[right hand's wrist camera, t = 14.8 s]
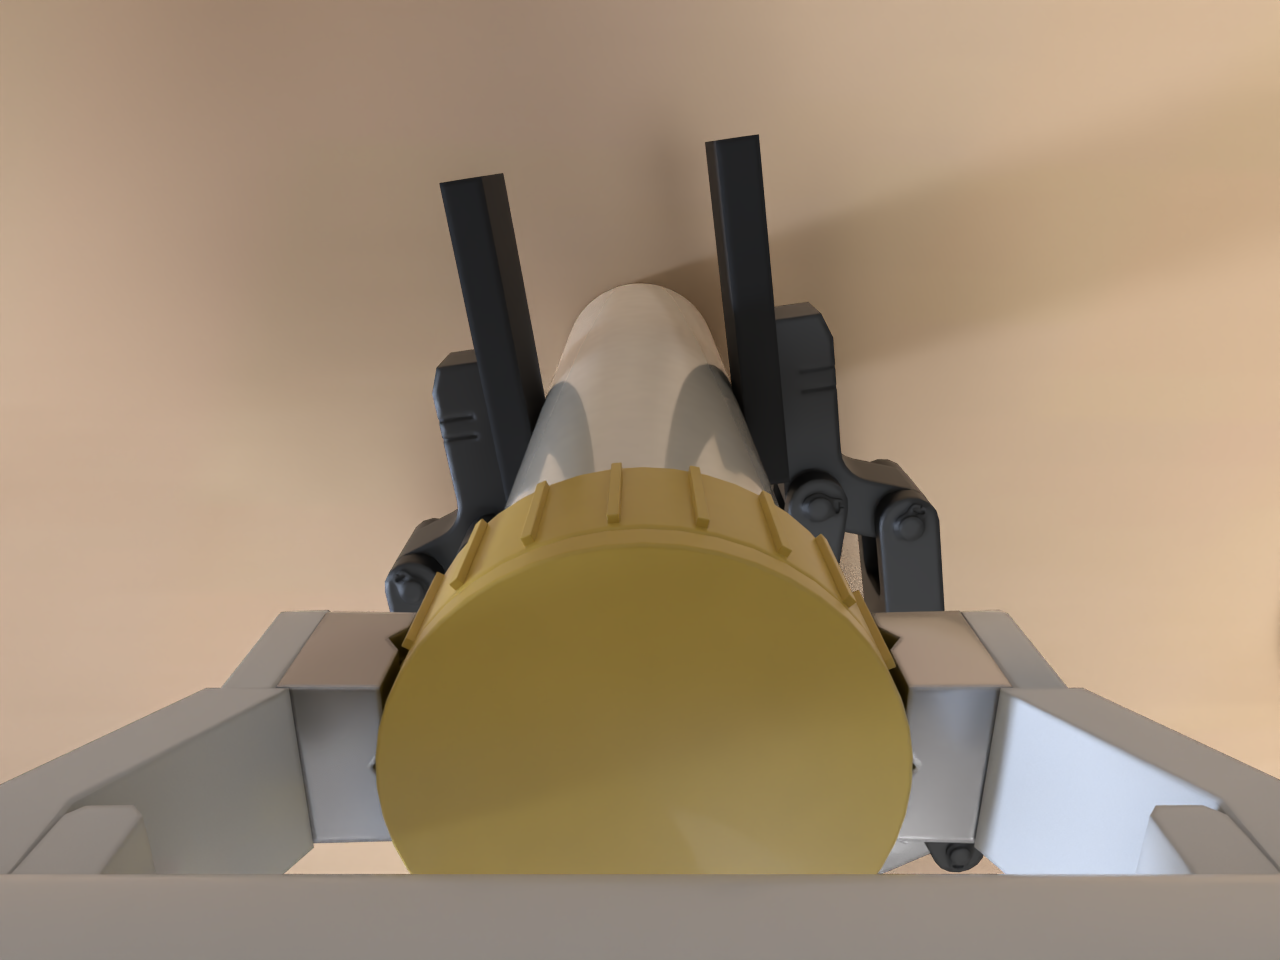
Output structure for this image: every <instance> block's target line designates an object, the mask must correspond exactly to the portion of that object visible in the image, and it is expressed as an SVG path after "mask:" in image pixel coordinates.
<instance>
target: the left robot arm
mask: <svg viewBox="0 0 1280 960" xmlns="http://www.w3.org/2000/svg"><path fill="white" fill-rule="evenodd" d="M705 146H706V155H707V164H708V174H709V183H710V192H711V201H712V210H713V219H714V228H715V237H716V246H717V256H718V265H719V274H720V283H721V292H722V301H723V310H724V319H725V328H726V338H727V347H728V356H729V365H730V374H731V383H732V388H733V390H734V393H735V396H736V398H737V401H738V403H739V406H740V408H741V411H742V413H743V416H744V418H745V421H746V423H747V426H748V428H749V431H750V434H751V436H752V439H753V441H754V444H755V446H756V449H757V451H758V454H759V456H760V459H761V461H762V464H763V467H764V469H765V472H766V474H767V477H768V479H769V482H770V484H771V487H772V489H773V492H774V494H775V497H776V499H777V502H778V505H779V507H780V508H781V509H782V510H784V511H785V512H787V513H788V514H789V515H791V516H792V517H793V518H794V519H795V520H797V521H798V522H799V523H800V524H801V525H802V526H804V527H805V528H806V529H807V530H808V531H809V532H810V533H811V534H812V535H813V536H814V537H815V538H816V537H817V536H818V535H820V534H822V535H823V536H824V537H825V538H826V539H827V541H828V543H829V545H830V547H831V549H832V552H833V554H834V556H835V558H836V560H837V562H838V564H839V563H840V557H841V551H842V545H843V539H844V533H845V532H848V533H854V534H858V540H859V551H860V562H861V572H862V583H863V594H864V601H865V603H866V605H867V607H868V609H869V611H870V613H887V612H929V611H944V594H943V577H942V560H941V543H940V526H939V518H938V515H937V511H936V510H935V508H934V507H933V506H932V505H931V504H930V502H929V501H928V500H927V499H926V497H925V496H924V495H923V493H922V492H921V491H920V490H919V489H918V487H917V486H916V485H915V484H914V482H913V481H912V480H911V479H910V478H909V476H908V475H907V474H906V473H905V472H904V471H903V470H902V469H901V467H900V466H899V465H898V464H897V463H895V462H892V461H890V460H883V459H877V460H874V461H872V462H867V461H862V460H857V459H853V458H850V457H847V456H844V455H843V454H841V447H840V432H839V417H838V403H837V389H836V373H835V358H834V344H833V337H832V335H831V333H830V331H829V329H828V327H827V325H826V323H825V321H824V319H823V317H822V315H821V313H820V312H819V311H818V310H816V309H815V308H814V307H813V306H812V305H811V304H810V303H809V302H804V303H797V304H790V305H783V306H776V307H774V298H773V287H772V276H771V265H770V254H769V243H768V232H767V221H766V209H765V198H764V187H763V176H762V165H761V154H760V143H759V134H758V135H751V136H743V137H737V138H730V139H723V140H717V141H710V142H705ZM440 188H441V193H442V198H443V203H444V207H445V212H446V217H447V222H448V226H449V231H450V236H451V241H452V245H453V250H454V255H455V260H456V264H457V269H458V274H459V279H460V283H461V288H462V293H463V298H464V302H465V307H466V312H467V317H468V321H469V326H470V331H471V336H472V340H473V345H474V349H473V350H466V351H459V352H452V353H450V354H449V355H448V356H447V357H446V358H445V359H444V360H443V362H442V363H441V364H440V365H439V366H438V367H437V368H436V374H435V380H434V386H433V392H432V394H433V399H434V403H435V407H436V412H437V416H438V419H439V425H440V429H441V433H442V438H443V439H444V446H445V451H446V455H447V459H448V464H449V468H450V472H451V477H452V481H453V485H454V490H455V494H456V498H457V505H458V509H456V510H455V511H454V512H452V513H450V514H448V515H446V516H444V517H442V518H440V519H436V518H432V519H429V520H425V521H423V522H422V523H421V524H419V525H418V526H417V527H416V528H415V530H414V532H413V534H412V535H411V537H410V538H409V540H408V542H407V543H406V545H405V547H404V548H403V550H402V552H401V554H400V555H399V557H398V559H397V560H396V562H395V564H394V565H393V567H392V569H391V571H390V572H389V574H388V577H387V579H386V581H385V593H386V597H387V601H388V605H389V609H390V612H411V613H417V612H418V610H419V608H420V606H421V604H422V602H423V600H424V597H425V595H426V593H427V591H428V589H429V587H430V585H431V583H432V581H433V579H434V577H435V575H436V573H437V572H439V573H441V574H443V575H445V573H446V571H447V570H448V568H449V567H450V565H451V564H452V562H453V561H454V559H455V558H456V556H457V555H458V553H459V552H460V551H461V550H462V549H463V548H464V546H465V545H466V544H467V543H468V540H469V538H470V536H471V534H472V531H473V529H474V527H475V524H476V523H478V522H479V521H480V520H481V519H483V520H484V521H485V522H486V523H488V522H490V521H491V520H492V519H493V518H494V517H495V516H497V515H498V514H499V513H500V512H502V511H504V508H505V506H506V503H507V500H508V498H509V495H510V492H511V490H512V487H513V484H514V482H515V479H516V476H517V474H518V471H519V468H520V466H521V463H522V460H523V458H524V455H525V452H526V450H527V447H528V444H529V442H530V439H531V436H532V434H533V431H534V428H535V426H536V423H537V420H538V418H539V415H540V412H541V410H542V407H543V404H544V401H545V395H544V390H543V384H542V379H541V374H540V368H539V363H538V358H537V352H536V347H535V341H534V336H533V331H532V325H531V320H530V315H529V309H528V304H527V298H526V293H525V288H524V282H523V277H522V272H521V266H520V261H519V255H518V250H517V245H516V239H515V234H514V228H513V223H512V218H511V212H510V207H509V202H508V196H507V191H506V185H505V180H504V175H503V173H501V174H494V175H488V176H481V177H474V178H468V179H462V180H456V181H450V182H444V183H440ZM974 845H975V843H949V842H912V841H896V843H895V844H894V846H893V848H892V850H891V852H890V854H889V855H888V857H887V859H886V861H885V863H884V865H883V866H882V868H881V869H880V871H879V872H878V873H877V874H883V873H885V872H887V871H890V870H892V869H894V868H897V867H899V866H902V865H904V864H906V863H909V862H911V861H913V860H916V859H918V858H920V857H923V856H925V855H927V854H931V855H932V857H933V859H934V861H935V862H936V863H937V864H938V865H939V866H940V868H942V869H944V870H947V871H949V872H962V871H966V870H969V869H971V868H972V867H974V866H976V865H977V864H978V863H979V862H980V860H981V859H982V858H983V854H982V853H981V852H980V851H978V850H977V849H976V848H975V847H974Z"/></svg>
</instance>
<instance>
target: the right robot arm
mask: <svg viewBox="0 0 1280 960" xmlns="http://www.w3.org/2000/svg"><path fill="white" fill-rule="evenodd" d="M416 614H417V613H411V612H356V611H333V612H331V611H329V610H311V611H287V612H281V613H280V614H279V615H278V616H277V617H276V619H275V620H274V621H273V622H272V624H271V625H270V626H269V627H268V629H267V630H266V631H265V633H264V634H263V635H262V636H261V638H260V639H259V640H258V641H257V643H256V644H255V645H254V646H253V648H252V649H251V650H250V652H249V653H248V654H247V655H246V657H245V658H244V659H243V660H242V662H241V663H240V664H239V666H238V667H237V668H236V669H235V671H234V672H233V673H232V674H231V676H230V677H229V678H228V679H227V681H226V682H225V683H224V685H223V686H222V687H221V688H205V689H203V690H201V691H199V692H197V693H194V694H192V695H190V696H188V697H186V698H184V699H182V700H180V701H177V702H175V703H173V704H171V705H169V706H167V707H165V708H162V709H160V710H158V711H156V712H154V713H152V714H150V715H148V716H145V717H143V718H141V719H139V720H137V721H135V722H133V723H130V724H128V725H126V726H124V727H122V728H120V729H118V730H116V731H113V732H111V733H109V734H107V735H105V736H103V737H101V738H98V739H96V740H94V741H92V742H90V743H88V744H86V745H84V746H81V747H79V748H77V749H75V750H73V751H71V752H69V753H66V754H64V755H62V756H60V757H58V758H56V759H54V760H52V761H49V762H47V763H45V764H43V765H41V766H39V767H37V768H34V769H32V770H30V771H28V772H26V773H24V774H22V775H20V776H17V777H15V778H13V779H11V780H9V781H7V782H5V783H2V784H0V960H1280V780H1279V779H1277V778H1275V777H1273V776H1271V775H1268V774H1266V773H1264V772H1262V771H1260V770H1258V769H1256V768H1253V767H1251V766H1249V765H1247V764H1245V763H1243V762H1240V761H1238V760H1236V759H1234V758H1232V757H1230V756H1228V755H1225V754H1223V753H1221V752H1219V751H1217V750H1215V749H1213V748H1210V747H1208V746H1206V745H1204V744H1202V743H1200V742H1198V741H1195V740H1193V739H1191V738H1189V737H1187V736H1185V735H1183V734H1180V733H1178V732H1176V731H1174V730H1172V729H1170V728H1168V727H1165V726H1163V725H1161V724H1159V723H1157V722H1155V721H1153V720H1150V719H1148V718H1146V717H1144V716H1142V715H1140V714H1137V713H1135V712H1133V711H1131V710H1129V709H1127V708H1125V707H1122V706H1120V705H1118V704H1116V703H1114V702H1112V701H1110V700H1107V699H1105V698H1103V697H1101V696H1099V695H1097V694H1095V693H1092V692H1090V691H1088V690H1086V689H1084V688H1068V687H1067V686H1066V685H1065V684H1064V682H1063V681H1062V680H1061V679H1060V677H1059V676H1058V675H1057V674H1056V672H1055V671H1054V670H1053V669H1052V667H1051V666H1050V665H1049V664H1048V663H1047V661H1046V660H1045V659H1044V658H1043V656H1042V655H1041V654H1040V653H1039V651H1038V650H1037V649H1036V648H1035V646H1034V645H1033V644H1032V643H1031V641H1030V640H1029V639H1028V638H1027V637H1026V635H1025V634H1024V633H1023V632H1022V630H1021V629H1020V628H1019V627H1018V625H1017V624H1016V623H1015V622H1014V620H1013V619H1012V618H1011V617H1010V616H1009V614H1008V613H1006V612H1003V611H1001V610H985V611H963V612H960V611H929V612H887V613H871V615H872V617H873V619H874V621H875V623H876V625H877V627H878V629H879V631H880V633H881V635H882V637H883V639H884V641H885V643H886V645H887V647H888V649H889V651H890V654H891V656H892V658H893V660H894V662H895V665H896V667H895V668H892V669H889V672H890V674H891V677H892V679H893V681H894V683H895V685H896V687H897V690H898V692H899V694H900V696H901V698H902V702H903V705H904V709H905V712H906V716H907V720H908V723H909V727H910V735H911V743H912V752H913V767H912V786H911V791H910V796H909V801H908V806H907V811H906V815H905V818H904V821H903V824H902V826H901V829H900V832H899V834H898V837H897V840H896V841H912V842H949V843H975V845H974V847H975V848H976V849H977V850H978V851H980V852H981V853H982V854H983V855H984V856H985V857H987V858H988V859H989V860H990V861H991V862H992V863H993V864H995V865H996V866H997V867H998V868H999V869H1000V870H1002V871H1003V872H1004V873H1005V874H284V873H285V872H286V871H287V870H289V869H290V868H291V867H292V866H293V865H294V864H295V863H297V862H298V861H299V860H300V859H301V858H302V857H303V856H305V855H306V854H307V853H308V852H309V851H310V850H311V849H313V848H314V845H313V843H338V842H374V841H392V840H391V837H390V834H389V832H388V829H387V826H386V824H385V821H384V818H383V814H382V810H381V805H380V800H379V795H378V791H377V783H376V763H375V756H376V747H377V737H378V729H379V725H380V721H381V718H382V714H383V710H384V707H385V703H386V700H387V697H388V695H389V693H390V691H391V689H392V686H393V684H394V682H395V680H396V678H397V676H398V673H399V671H400V665H401V663H402V661H403V660H404V659H405V658H406V656H407V654H408V652H409V650H408V649H406V648H404V647H402V643H403V641H404V639H405V637H406V635H407V633H408V631H409V629H410V627H411V624H412V622H413V620H414V618H415V616H416Z"/></svg>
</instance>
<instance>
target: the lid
mask: <svg viewBox="0 0 1280 960" xmlns="http://www.w3.org/2000/svg"><path fill="white" fill-rule="evenodd" d="M402 647H404V648H406V649H408V650H409V652H408V654H407V656H406V658H405V659H404V660H403V661H402V663H401V665H400V671H399V673H398V676H397V678H396V680H395V682H394V684H393V686H392V689H391V691H390V693H389V695H388V697H387V700H386V703H385V707H384V710H383V714H382V718H381V721H380V725H379V729H378V737H377V747H376V756H375V763H376V783H377V791H378V795H379V800H380V805H381V810H382V814H383V818H384V821H385V824H386V826H387V829H388V832H389V834H390V837H391V840H392V842H393V845H394V846H395V848H396V850H397V852H398V854H399V855H400V857H401V859H402V861H403V863H404V864H405V866H406V868H407V870H408V871H409V872H410V874H877V873H878V872H879V871H880V869H881V868H882V866H883V865H884V863H885V861H886V859H887V857H888V855H889V854H890V852H891V850H892V848H893V846H894V844H895V843H896V840H897V837H898V834H899V832H900V829H901V826H902V824H903V821H904V818H905V815H906V811H907V806H908V801H909V796H910V791H911V786H912V767H913V752H912V743H911V735H910V727H909V723H908V720H907V716H906V712H905V709H904V705H903V702H902V698H901V696H900V694H899V692H898V690H897V687H896V685H895V683H894V681H893V679H892V677H891V674H890V672H889V669H892V668H895V667H896V665H895V662H894V660H893V658H892V656H891V654H890V651H889V649H888V647H887V645H886V643H885V641H884V639H883V637H882V635H881V633H880V631H879V629H878V627H877V625H876V623H875V621H874V619H873V617H872V615H871V613H870V611H869V609H868V607H867V605H866V603H865V601H864V599H863V597H862V595H861V593H860V591H859V590H857V591H855V592H852V591H851V589H850V587H849V585H848V583H847V581H846V579H845V577H844V575H843V572H842V570H841V568H840V566H839V564H838V562H837V560H836V558H835V556H834V554H833V552H832V549H831V547H830V545H829V543H828V541H827V539H826V538H825V537H824V536H823V535H822V534H820V535H818V536H817V537H816V538H815V537H814V536H813V535H812V534H811V533H810V532H809V531H808V530H807V529H806V528H805V527H804V526H802V525H801V524H800V523H799V522H798V521H797V520H795V519H794V518H793V517H792V516H791V515H789V514H788V513H787V512H785V511H784V510H782V509H781V508H779V507H778V506H776V505H775V504H774V501H773V499H772V496H771V494H769V493H767V492H765V491H764V490H762V492H761V493H760V495H757V494H755V493H753V492H751V491H749V490H747V489H745V488H742V487H740V486H738V485H736V484H733V483H730V482H727V481H724V480H721V479H718V478H714V477H711V476H708V475H705V474H701V471H700V467H696V466H690V467H689V471H683V470H678V469H668V468H651V467H636V468H622V463H621V462H619V463H612V464H611V469H609V470H604V471H599V472H593V473H588V474H583V475H579V476H576V477H573V478H570V479H567V480H564V481H560V482H557V483H554V484H551V485H548V483H547V481H543V482H540V483H538V484H537V486H536V489H535V492H534V493H532V494H530V495H528V496H526V497H524V498H522V499H521V500H519V501H517V502H516V503H514V504H513V505H511V506H510V507H508V508H507V509H505V510H504V511H502V512H500V513H499V514H498V515H497V516H495V517H494V518H493V519H492V520H491V521H490V522H488V523H486V522H485V521H484V520H483V519H481V520H480V521H479V522H478V523H476V524H475V527H474V529H473V531H472V534H471V536H470V538H469V540H468V543H467V544H466V545H465V546H464V548H463V549H462V550H461V551H460V552H459V553H458V555H457V556H456V558H455V559H454V561H453V562H452V564H451V565H450V567H449V568H448V570H447V571H446V573H445V575H443V574H441V573H439V572H437V573H436V575H435V577H434V579H433V581H432V583H431V585H430V587H429V589H428V591H427V593H426V595H425V597H424V600H423V602H422V604H421V606H420V608H419V610H418V612H417V614H416V616H415V618H414V620H413V622H412V624H411V627H410V629H409V631H408V633H407V635H406V637H405V639H404V641H403V643H402Z"/></svg>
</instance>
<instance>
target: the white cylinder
mask: <svg viewBox="0 0 1280 960" xmlns="http://www.w3.org/2000/svg"><path fill="white" fill-rule="evenodd" d="M619 462H621V463H622V468H636V467H651V468H668V469H678V470H683V471H689V467H690V466H696V467H700V471H701V474H705V475H708V476H711V477H714V478H718V479H721V480H724V481H727V482H730V483H733V484H736V485H738V486H740V487H742V488H745V489H747V490H749V491H751V492H753V493H755V494H757V495H760V493H761V492H762V490H764V491H765V492H767V493H769V494H771V496H772V499H773V501H774V504H775V505H776V506H778V507H779V505H778V502H777V499H776V497H775V494H774V492H773V489H772V487H771V484H770V482H769V479H768V477H767V474H766V472H765V469H764V467H763V464H762V461H761V459H760V456H759V454H758V451H757V449H756V446H755V444H754V441H753V439H752V436H751V434H750V431H749V428H748V426H747V423H746V421H745V418H744V416H743V413H742V411H741V408H740V406H739V403H738V401H737V398H736V396H735V393H734V390H733V388H732V385H731V383H730V380H729V378H728V375H727V373H726V370H725V368H724V365H723V363H722V360H721V357H720V355H719V352H718V350H717V347H716V345H715V342H714V340H713V337H712V335H711V332H710V330H709V328H708V325H707V323H706V321H705V320H704V318H703V317H702V315H701V313H700V312H699V311H698V310H697V309H696V308H695V306H694V305H693V304H692V303H690V302H689V301H688V300H687V299H686V298H684V297H683V296H681V295H680V294H678V293H676V292H674V291H672V290H670V289H668V288H665V287H662V286H658V285H653V284H644V283H637V284H628V285H623V286H619V287H616V288H613V289H611V290H609V291H607V292H605V293H603V294H601V295H600V296H598V297H597V298H595V299H594V300H593V301H592V302H591V303H589V304H588V305H587V306H586V307H585V309H584V310H583V311H582V312H581V313H580V315H579V316H578V318H577V320H576V321H575V323H574V325H573V327H572V330H571V332H570V335H569V337H568V340H567V343H566V345H565V348H564V351H563V353H562V356H561V359H560V361H559V364H558V367H557V369H556V372H555V375H554V377H553V380H552V383H551V385H550V388H549V391H548V393H547V396H546V399H545V401H544V404H543V407H542V410H541V412H540V415H539V418H538V420H537V423H536V426H535V428H534V431H533V434H532V436H531V439H530V442H529V444H528V447H527V450H526V452H525V455H524V458H523V460H522V463H521V466H520V468H519V471H518V474H517V476H516V479H515V482H514V484H513V487H512V490H511V492H510V495H509V498H508V500H507V503H506V506H505V508H504V510H505V509H507V508H508V507H510V506H511V505H513V504H514V503H516V502H517V501H519V500H521V499H522V498H524V497H526V496H528V495H530V494H532V493H534V492H535V489H536V486H537V484H538V483H540V482H543V481H547V483H548V485H551V484H554V483H557V482H560V481H564V480H567V479H570V478H573V477H576V476H579V475H583V474H588V473H593V472H599V471H604V470H609V469H611V464H612V463H619ZM779 508H780V507H779Z"/></svg>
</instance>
